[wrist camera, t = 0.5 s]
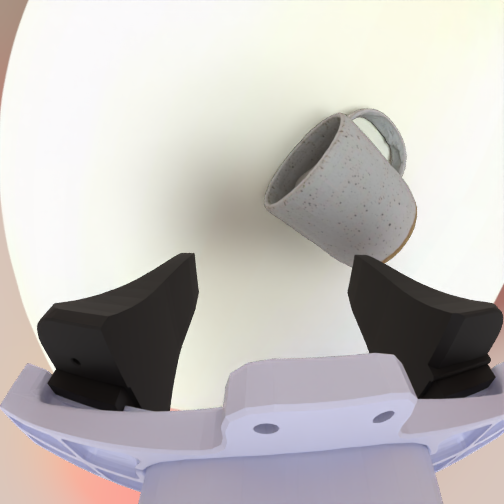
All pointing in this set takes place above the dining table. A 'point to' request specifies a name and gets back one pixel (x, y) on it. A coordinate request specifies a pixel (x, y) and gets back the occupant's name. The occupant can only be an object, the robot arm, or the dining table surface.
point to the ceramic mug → (346, 189)
